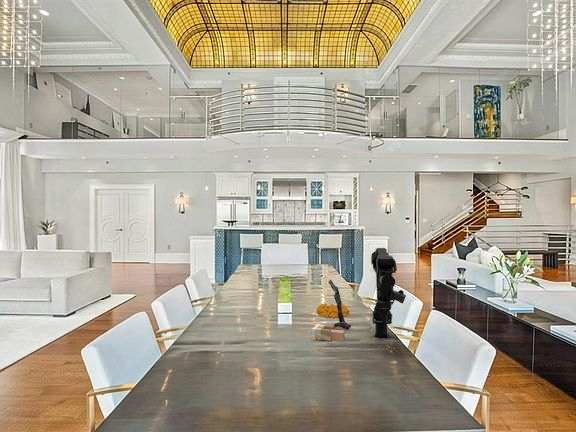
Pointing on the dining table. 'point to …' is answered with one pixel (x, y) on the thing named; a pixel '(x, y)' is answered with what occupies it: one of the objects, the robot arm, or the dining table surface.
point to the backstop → (314, 331)
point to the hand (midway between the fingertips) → (385, 320)
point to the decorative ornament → (331, 311)
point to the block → (323, 332)
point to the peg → (337, 335)
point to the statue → (339, 310)
